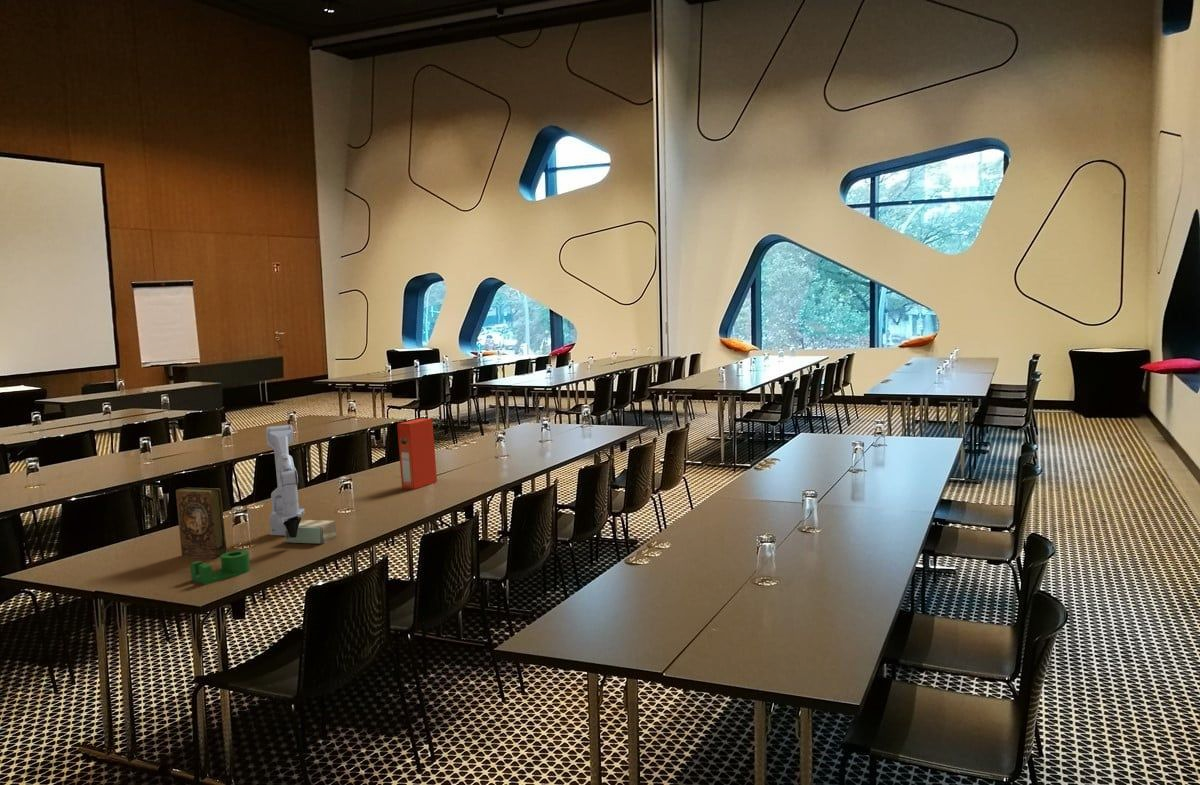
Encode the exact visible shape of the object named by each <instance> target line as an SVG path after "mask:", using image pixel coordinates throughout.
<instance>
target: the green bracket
mask: <svg viewBox="0 0 1200 785" xmlns="http://www.w3.org/2000/svg"><path fill="white" fill-rule="evenodd" d="M249 554H250V553H249V551H248V550H245V549H239V550H230V551H226V553H224V554H222V555H219V556H220V557H219V558H220V566H221V568H218V569H214V570H212V567H211V564H209V563H207V562H205V563H203V561H200V560H197V561H193V562H190V564H189V565H190V575H191V576H190V577H191V578H190V579H191V581H192V582H196V583H197V584H198V583H199V584H201V585H204V586H205V585H209V584H212V583H215V582H220V581H222V580H226V579H230V578H234V577H236V576H240V575H243V574H246V573H248V572H250V570H251V566H250V555H249Z"/></svg>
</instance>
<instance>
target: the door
mask: <svg viewBox="0 0 1200 785" xmlns="http://www.w3.org/2000/svg"><path fill="white" fill-rule="evenodd" d="M285 543H297V544H298V543H299V544H300V543H302V544H322V543H323V540H322V527H320V528H318V527H298V531H297V536H296V537H295V538H290V536H289V534H288V531H287V529H286V527H285Z"/></svg>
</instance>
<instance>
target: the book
mask: <svg viewBox="0 0 1200 785" xmlns="http://www.w3.org/2000/svg"><path fill="white" fill-rule="evenodd" d="M221 492H222V490H221V488H215V487H213V488H210V487H209V488H208V487H182V488H178V489H176V490H175V499H176V509H177V510H176V511H177V520H178V529H179V531H178V532H179V537H180V539H179V540H180V550H181V557H182V558H192V559H193V558H195V559H197V558H198V559H216V558H218V557H219V556H221V555H222V554H224V553H226V552H227V539H226V531H225V520H224V510H223V501H222V500H223V498H222V493H221Z"/></svg>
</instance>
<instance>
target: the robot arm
mask: <svg viewBox="0 0 1200 785" xmlns="http://www.w3.org/2000/svg"><path fill="white" fill-rule="evenodd" d="M265 438H266V444H267V447H270V448H272V450H273V452H274V464H275V471H276V472H275V474H276V483H277V487H276V488H275V489H274V490H272V492H271V494H270V503H271V511H272V512H271V514H270V515H269V527H270V533H269V535H270V536H285V527H286V529H287V531H288V534H289V536H290V538H295V537H296V536H297V531H298V526H299V523H300V521H301V520H302V517H301V516H302V515H305V508H300V506H299V496H298V495H299V494H298V484H299V478H298V477H299V476H298V471H297V469H296V467H295V464H294V459H293V456H292V455H290V454H289V453H290V452H289V445H292V444H293V443H292V442H293V441H294V428H293V425H291V424H286V425H284V424H283V425H275V426H274V425H273V426H266V428H265Z"/></svg>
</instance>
